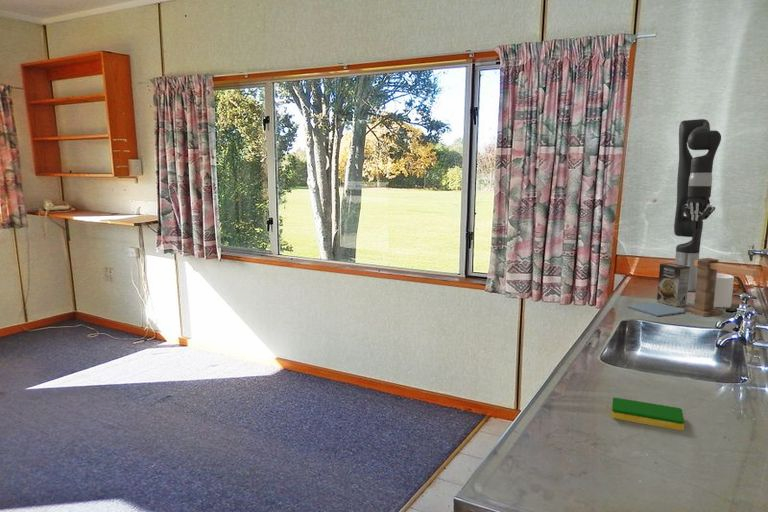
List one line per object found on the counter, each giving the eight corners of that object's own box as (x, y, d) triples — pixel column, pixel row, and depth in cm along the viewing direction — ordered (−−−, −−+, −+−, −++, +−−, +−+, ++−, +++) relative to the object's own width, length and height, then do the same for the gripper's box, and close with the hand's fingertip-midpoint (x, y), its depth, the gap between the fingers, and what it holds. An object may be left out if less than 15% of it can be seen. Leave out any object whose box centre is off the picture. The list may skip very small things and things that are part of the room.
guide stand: (702, 308, 203) (707, 256, 199) (722, 313, 195) (727, 260, 192) (684, 311, 199) (689, 258, 196) (703, 316, 192) (708, 261, 188)
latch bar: (699, 265, 199) (700, 260, 199) (758, 275, 179) (758, 269, 178) (694, 265, 198) (694, 260, 198) (752, 276, 178) (753, 270, 177)
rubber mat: (654, 304, 209) (654, 302, 209) (685, 312, 197) (685, 311, 196) (627, 307, 205) (627, 306, 204) (657, 316, 192) (657, 315, 192)
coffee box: (655, 302, 213) (658, 263, 210) (666, 300, 216) (669, 262, 213) (676, 307, 205) (679, 267, 202) (687, 305, 207) (690, 266, 205)
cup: (721, 301, 214) (724, 272, 212) (737, 308, 203) (740, 278, 201) (691, 300, 215) (694, 272, 213) (705, 307, 204) (708, 278, 202)
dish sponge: (612, 406, 120) (613, 396, 120) (680, 418, 114) (681, 407, 114) (611, 419, 114) (612, 409, 113) (683, 432, 108) (684, 421, 108)
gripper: (723, 185, 190) (719, 231, 193) (691, 184, 202) (687, 228, 205) (708, 185, 188) (704, 232, 190) (677, 184, 200) (673, 229, 203)
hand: (695, 230), depth 198 cm, fingers closed
